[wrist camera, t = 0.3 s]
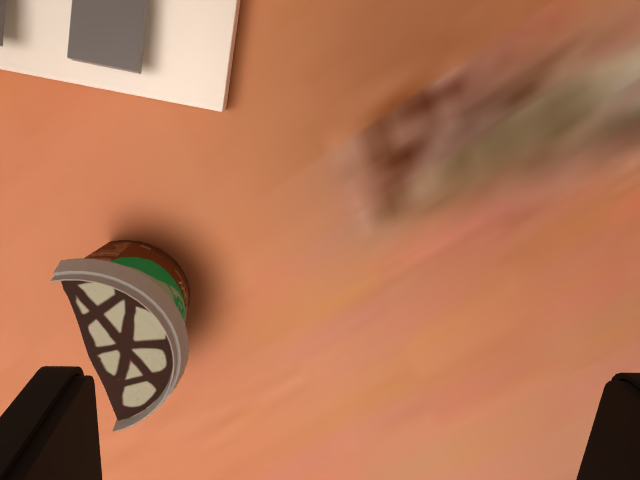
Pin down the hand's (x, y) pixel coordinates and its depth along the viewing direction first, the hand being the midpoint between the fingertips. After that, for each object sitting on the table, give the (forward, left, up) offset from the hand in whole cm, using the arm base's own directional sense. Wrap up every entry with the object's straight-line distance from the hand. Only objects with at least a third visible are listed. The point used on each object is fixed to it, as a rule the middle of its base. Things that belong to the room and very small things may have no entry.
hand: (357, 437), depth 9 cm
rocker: (-9, -12, -26) cm, 30 cm away
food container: (+12, -8, -31) cm, 34 cm away
